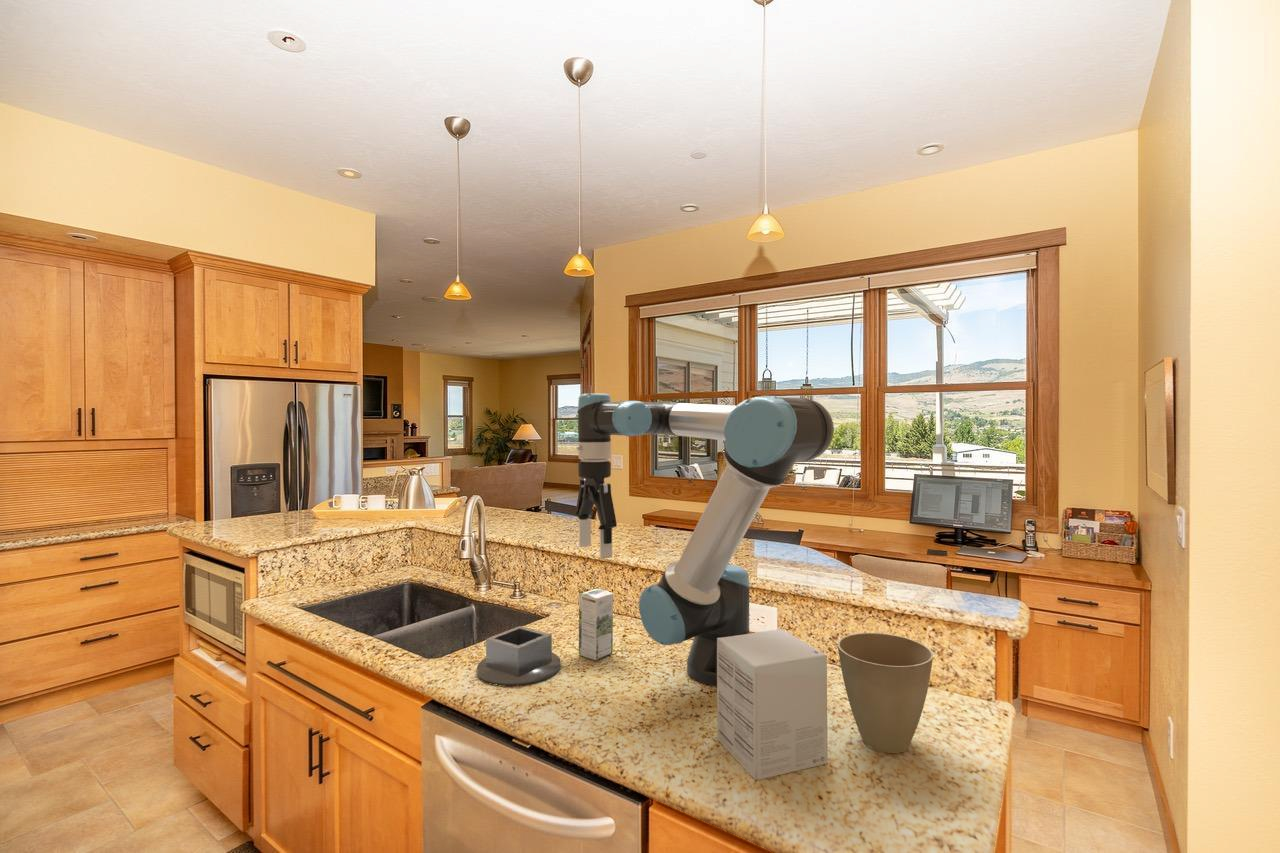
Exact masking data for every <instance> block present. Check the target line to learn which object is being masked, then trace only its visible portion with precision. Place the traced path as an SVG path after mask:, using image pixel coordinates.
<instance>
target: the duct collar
mask: <svg viewBox="0 0 1280 853" xmlns="http://www.w3.org/2000/svg"><path fill="white" fill-rule="evenodd" d="M552 636H553V635H552V634H551V633H547V632H543V631H540V630H536V629H533V628H529V627H525V626H521V625H519V626H516V627H514V628H511V629H509V630H506V631H503V632H500V633H497V634H494V635H492V636H490V637H488V638H485V654H486V655H485V657H484V658H483V659H482V660H481V661H480V662H478V665H477V666H476V674H477V677H478V679H479V680H481V681H482V680H483V682H484V681H485V682H484V683H486V682H487V684H489V683H491V684H490V685H493V684H497V685H496V686H498V685H505V686H504V687H521V686H520V685H523V686H528V685H527V684H529V685H533V683H534V684H537V683H540V682H541V683H542V682H544V681H546V680H548V679H551V678H552V677H554V676H555V675H556V674H558V673H559V671H560V669H561V665H562V664H561V663H562V660H561V659H560V656H559V655H557V654H556V653H554V652H553V650H552V648H553V644H552V643H553V642H552V641H553V640H552V639H553V638H552ZM517 685H519V686H517Z"/></svg>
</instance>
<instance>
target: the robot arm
mask: <svg viewBox="0 0 1280 853" xmlns="http://www.w3.org/2000/svg"><path fill="white" fill-rule="evenodd" d="M577 433H578V434H577V439H578V446H576V451H578V459H579V460H580V461H579V462H577V463H578V464H577V466H578V467H577V468H578V470H577V472H578V473H577V474H578V477H579V478H580V479H579V489H578V496H577V501H576V507H575V513H574V514H575V515H576V516H577V518H578V547H579V548H585V547H592V539H591V538H592V537H591V535H592V533H591V532H592V529H591V528H592V527H591V526H592V524H591V523H592V522H591V519H592V517H593V516H592V515H591V512H592V510H593V507H594V506H595V509H596V514H597V516H598V520H599V524H600V525H599V527H598V530H599V559H602V560H603V559H610V558H613V529H614V528H616V527H617V518H616V513H615V508H614V503H613V502H614V501H613V496H612V487H611V486H612V485H611V483H605V479H606V478H610V477H611V475H612V463H611V461H610V459H611V458H612V442H611V440H612V439H611V436H625V437H637V436H646V435H647V436H648V435H668V436H676V437H677V436H679V437H689V438H699V439H708V440H716V441H723V445H724V447H725V450H724V452H723V458H724V460H725V463H726V467H725V468H724V470H723V472H722V475H721V476H720V479H719V480H718V482H717V484H716V486H715V487H714V490H713V492H712V494H711V496H710V498H709V500H708V503H707V504H706V507H705V508H704V510H703V512H702V514H701V516H700V518H699V520H698V522H697V524H696V526H695V528H694V530H693V531H692V534H691V536H690V537H689V539H688V542H687V543H686V546H685V547H684V550H683V551H682V553H681V556H680V558H679V560H677V561H673V562H670V563H669V564H668V565H667V566H666V568H665V570H664V571H663V573H662V576H661V578H660V579H659V581H658V582H657V583H656V584H651V585H648V587H646V588H644V589H643V591H642V592H641V593H640V596H639V600H638V611H639V615H640V620H641V624H642V625H643V627H644V629H645V631H646V632H647V634H648V635H649V636H650V637H651V639H652V640H653V641H655V642H656V643H658V644H660V645H662V646H672V645H678V644H679V645H680V644H682V643H683V642H685V641H688V640H690V639H693V640H692V644H691V647H690V648H689V649H690V650H689V652H688V656H687V660H686V672H687V675H689V677H690V678H692V679H693V680H695V681H696V682H699V683H702V684H704V685H705V684H706V685H709V686H716V687H717V638H722V637H730V636H737V635H744V634H750V589H751V586H750V577H749V573H748V571H747V570H746V569H745V568H743V567H741V566H738V565H735V564H730V562H731V560H732V559H733V556H734V554H735V553H736V552H737V549H738V547H739V546H740V544H741V542H742V540H743V538H744V536H746V533H747V531H748V529H749V528H750V526H751V524H752V522H753V520H754V519H755V517H756V515H757V513H758V511H759V509H760V507H761V506H762V504H763V502H764V500H765V499H766V498H767V496H768V493H769V491H770V489H771V488H776V487H780V486H782V485H783V483H784V482H785V480H786V479H787V477H788V475H789V474H790V472H791V469H792V468H793V467H794V465H795V463H803V462H809V461H812V460H814V459H817V458H819V457H820V456H822V455H823V454H824V453H825V452H826V451H827V449H829V447H830V445H831V443H832V441H833V438H834V435H835V434H834V433H835V427H834V422H833V418H832V416H831V414H830V413H829V411H828V410H827V408H826V407H825V406H824V405H823V404H821V403H819V402H818V401H816V400H813V399H811V398H806V397H782V396H781V397H779V396H775V395H761V396H756V397H750V398H748V399H744V400H742V402H739V403H738V404H737V405H732V404H710V403H687V402H678V401H677V402H676V401H666V402H665V401H639V400H622V401H621V400H620V401H611V396H610V394H608V393H597V392H596V393H582V394H580V395H579V397H578V404H577Z"/></svg>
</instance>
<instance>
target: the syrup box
mask: <svg viewBox="0 0 1280 853" xmlns="http://www.w3.org/2000/svg"><path fill="white" fill-rule="evenodd" d="M613 629H614V594H613V593H612V592H611V591H608V590H605V589H602V588H601V589H599V588H594V589H592V590H591V589H590V590H588V591H585V592H581V593H579V594H578V655H579V656H580V657H584V658H587V659H590V660H594V661H598V660H600V659H603V658H605V657H608V656H610V655H612V654H613V652H614V651H613V645H614V644H613V641H614V640H613V639H614V638H613V637H614V633H613V632H614V630H613Z"/></svg>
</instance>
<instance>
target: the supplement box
mask: <svg viewBox="0 0 1280 853" xmlns="http://www.w3.org/2000/svg"><path fill="white" fill-rule="evenodd" d="M716 724H717V725H716V726H717V727H716V734H717V735H716V736H717V737H716V739H717V741H718V742H719V743H721V745H722V747H724V748H725V749H726V750H727V752H728V753H729V754H730V755H731V756H732V757H733V758H734V759H735V760H736V761H737V763H739V764H740V765H741V767H742V769H743V768H744V770H745V771H746V772H747V773H748V774H749V775H750V776H751V777H752V779H754V780H755V781H760V780H763V779H768V778H772V777H776V776H781V775H784V774H788V773H793V772H797V771H802V770H805V769H809V768H813V767H818V766H822V765H823V766H824V765H826V764H828V756H829V755H828V752H829V750H828V655H827V654H826V653H824V652H823V651H821V650H820V649H817V648H816V647H814V646H812V645H810V644H809V643H807V642H805V641H804V640H802V639H800V638H798V637H796V636H794V635H793V634H791V633H789V632H787V631H786V630H784V629H783V628H778V629H772V630H763V631H759V632H752V633H749V634H744V635H737V636H730V637H722V638H717V686H716Z"/></svg>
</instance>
